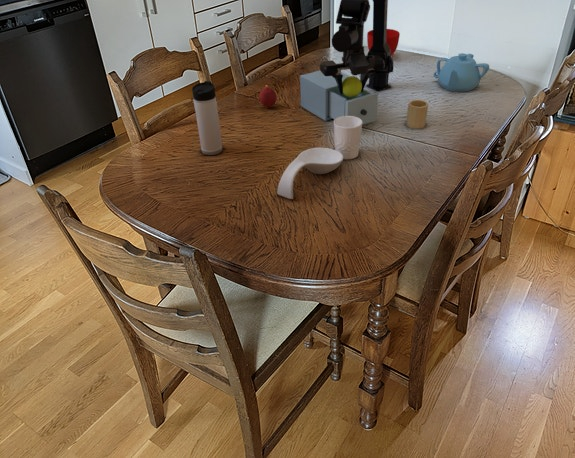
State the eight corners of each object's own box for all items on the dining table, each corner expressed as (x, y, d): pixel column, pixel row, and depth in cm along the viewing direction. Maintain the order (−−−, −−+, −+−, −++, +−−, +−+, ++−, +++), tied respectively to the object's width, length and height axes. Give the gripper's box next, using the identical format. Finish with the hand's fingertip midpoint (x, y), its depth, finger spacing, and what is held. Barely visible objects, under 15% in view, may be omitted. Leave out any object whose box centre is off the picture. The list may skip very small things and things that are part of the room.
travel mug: (226, 146, 150) (218, 81, 138) (217, 156, 145) (208, 90, 133) (208, 143, 152) (198, 79, 140) (198, 154, 147) (187, 88, 135)
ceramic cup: (364, 66, 200) (366, 40, 194) (366, 52, 214) (367, 28, 208) (397, 66, 198) (400, 41, 192) (397, 53, 212) (399, 28, 206)
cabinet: (356, 111, 166) (358, 79, 160) (325, 121, 161) (325, 88, 155) (331, 97, 177) (331, 67, 170) (300, 106, 172) (300, 75, 165)
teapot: (492, 88, 177) (498, 57, 170) (449, 96, 173) (454, 64, 167) (467, 74, 189) (472, 44, 182) (426, 81, 185) (430, 51, 178)
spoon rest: (314, 154, 144) (314, 131, 140) (350, 164, 138) (351, 141, 134) (266, 192, 128) (264, 168, 124) (305, 205, 123) (304, 180, 119)
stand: (416, 119, 160) (418, 98, 156) (429, 125, 156) (432, 104, 152) (402, 123, 158) (404, 102, 153) (415, 130, 153) (418, 109, 149)
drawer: (378, 121, 157) (380, 94, 152) (349, 131, 153) (350, 103, 147) (350, 106, 168) (351, 80, 162) (321, 114, 163) (321, 88, 158)
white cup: (364, 150, 145) (366, 118, 139) (355, 162, 139) (357, 129, 133) (338, 145, 148) (339, 114, 141) (329, 157, 142) (329, 125, 136)
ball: (352, 78, 158) (357, 69, 151) (362, 95, 157) (368, 86, 151) (335, 86, 156) (340, 77, 150) (345, 104, 156) (350, 95, 150)
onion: (277, 104, 174) (276, 82, 169) (276, 111, 169) (274, 88, 164) (261, 104, 174) (259, 82, 169) (259, 111, 170) (257, 88, 165)
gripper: (329, 53, 138) (329, 106, 147) (393, 46, 140) (389, 99, 150) (319, 41, 147) (319, 92, 156) (379, 35, 149) (376, 85, 159)
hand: (351, 92), depth 155 cm, fingers closed on ball, 6 cm apart
